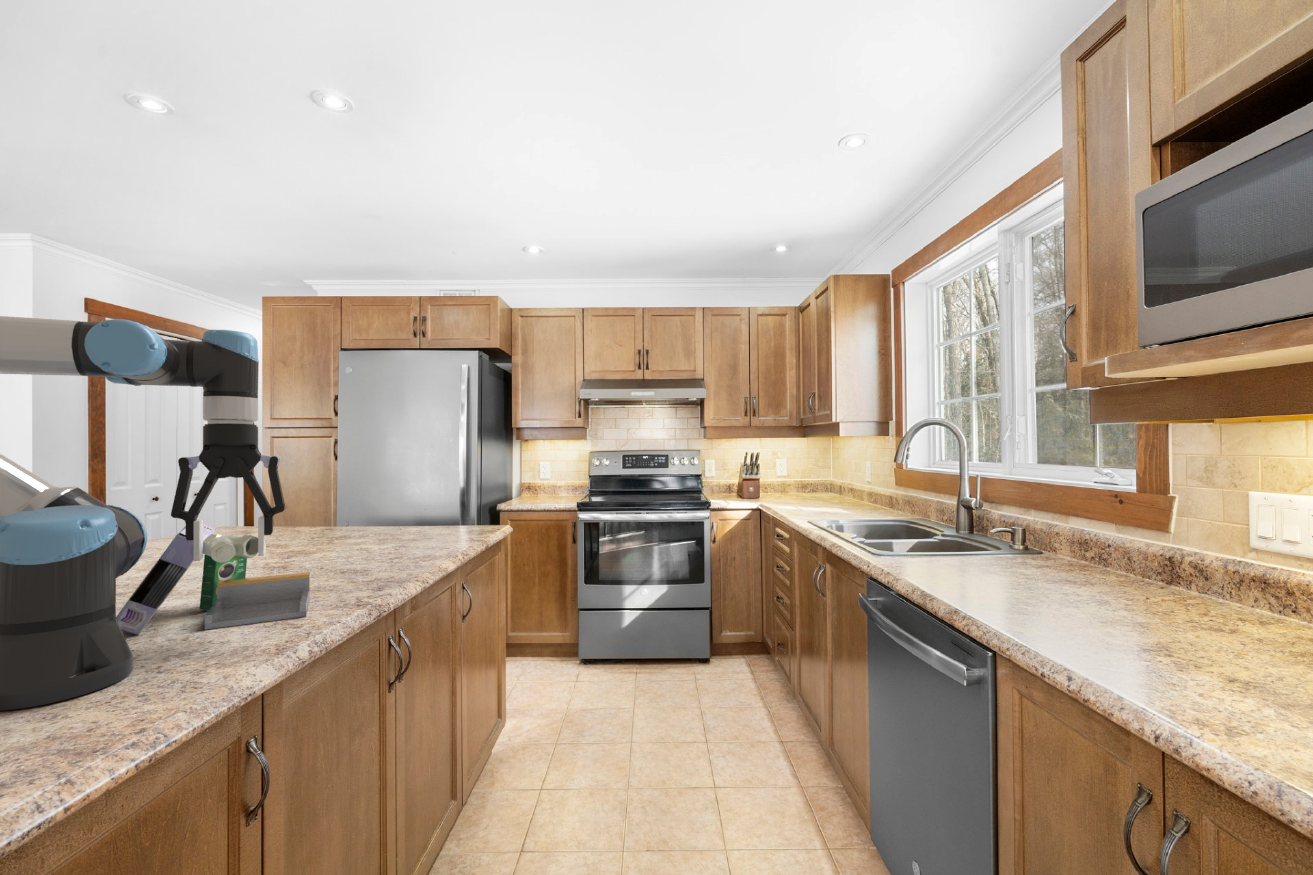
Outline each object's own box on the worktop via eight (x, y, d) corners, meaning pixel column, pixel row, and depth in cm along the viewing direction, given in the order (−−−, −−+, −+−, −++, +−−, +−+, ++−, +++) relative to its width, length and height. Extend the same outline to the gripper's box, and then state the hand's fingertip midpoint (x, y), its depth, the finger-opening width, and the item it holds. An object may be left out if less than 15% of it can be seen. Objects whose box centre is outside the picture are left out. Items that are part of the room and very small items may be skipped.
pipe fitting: (226, 566, 92) (261, 555, 99) (225, 542, 92) (259, 533, 98) (183, 565, 93) (220, 554, 100) (182, 541, 93) (219, 532, 100)
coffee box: (232, 598, 118) (237, 535, 118) (245, 599, 118) (250, 536, 118) (198, 610, 110) (203, 542, 110) (211, 611, 110) (217, 543, 110)
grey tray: (306, 616, 106) (305, 586, 106) (204, 629, 99) (204, 597, 99) (310, 599, 118) (310, 572, 118) (219, 610, 110) (219, 581, 111)
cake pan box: (140, 638, 95) (206, 541, 100) (104, 628, 93) (174, 529, 98) (161, 611, 111) (217, 528, 116) (131, 601, 109) (189, 517, 114)
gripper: (304, 424, 105) (304, 547, 105) (158, 422, 95) (157, 559, 95) (301, 423, 98) (301, 554, 98) (143, 421, 88) (143, 568, 88)
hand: (230, 556), depth 97 cm, fingers closed on pipe fitting, 8 cm apart
